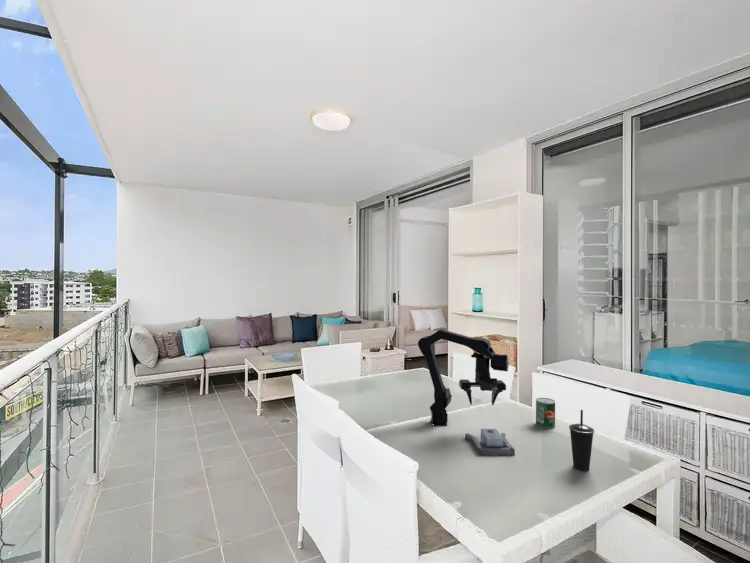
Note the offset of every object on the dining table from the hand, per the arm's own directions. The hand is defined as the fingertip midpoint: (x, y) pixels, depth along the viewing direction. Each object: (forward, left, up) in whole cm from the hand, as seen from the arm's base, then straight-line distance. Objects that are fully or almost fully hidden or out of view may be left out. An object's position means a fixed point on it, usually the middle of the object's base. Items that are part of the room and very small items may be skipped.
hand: (481, 404), depth 162 cm
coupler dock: (-1, -15, -11) cm, 19 cm away
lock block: (-1, -15, -11) cm, 19 cm away
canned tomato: (+30, +6, -11) cm, 33 cm away
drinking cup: (+25, -31, -11) cm, 42 cm away
